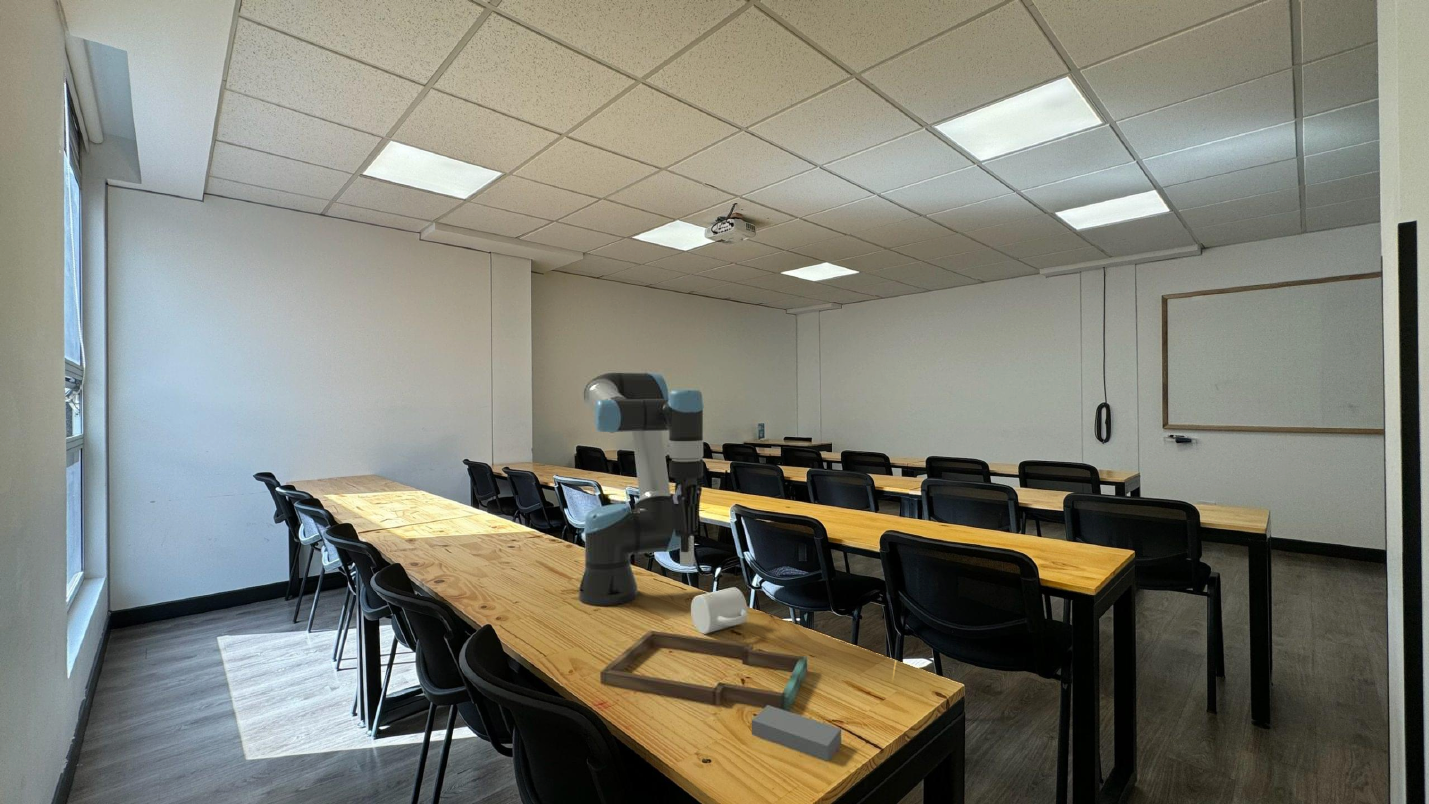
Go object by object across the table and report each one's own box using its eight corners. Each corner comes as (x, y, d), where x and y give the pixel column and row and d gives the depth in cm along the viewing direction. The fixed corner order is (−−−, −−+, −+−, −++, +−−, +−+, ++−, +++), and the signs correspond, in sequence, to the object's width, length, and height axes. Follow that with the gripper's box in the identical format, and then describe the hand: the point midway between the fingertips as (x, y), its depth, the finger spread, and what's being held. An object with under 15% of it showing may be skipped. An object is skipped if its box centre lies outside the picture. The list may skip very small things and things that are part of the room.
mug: (690, 627, 128) (690, 591, 128) (727, 617, 134) (726, 583, 134) (721, 645, 118) (721, 606, 118) (759, 634, 124) (759, 597, 124)
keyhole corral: (649, 642, 120) (649, 630, 120) (809, 666, 108) (809, 652, 108) (600, 685, 102) (600, 671, 102) (785, 719, 90) (785, 703, 90)
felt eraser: (751, 740, 85) (751, 720, 85) (768, 724, 90) (767, 705, 90) (827, 768, 79) (827, 746, 79) (841, 749, 83) (841, 728, 83)
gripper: (682, 455, 135) (683, 556, 135) (658, 462, 123) (659, 572, 123) (712, 456, 132) (713, 558, 133) (690, 463, 120) (691, 575, 120)
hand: (687, 565), depth 128 cm, fingers closed
